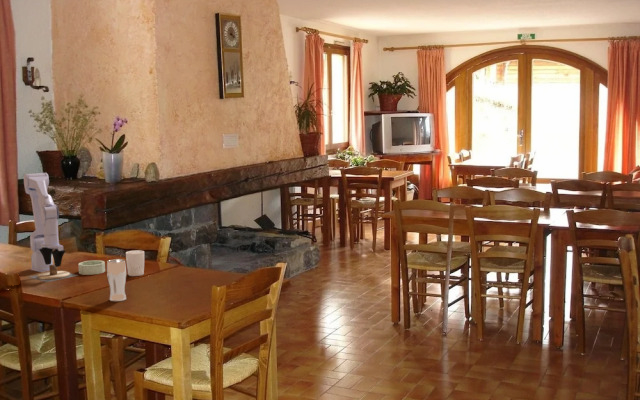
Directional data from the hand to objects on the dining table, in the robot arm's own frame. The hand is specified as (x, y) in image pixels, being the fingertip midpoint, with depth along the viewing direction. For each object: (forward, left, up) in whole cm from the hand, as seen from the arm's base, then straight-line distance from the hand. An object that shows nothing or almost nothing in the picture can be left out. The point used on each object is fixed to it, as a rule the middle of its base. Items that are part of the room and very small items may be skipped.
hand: (53, 265), depth 308 cm
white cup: (+24, +25, -6) cm, 35 cm away
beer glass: (+53, -5, -6) cm, 53 cm away
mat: (0, 0, -5) cm, 5 cm away
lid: (0, 0, -5) cm, 5 cm away
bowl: (+6, +15, -5) cm, 17 cm away
